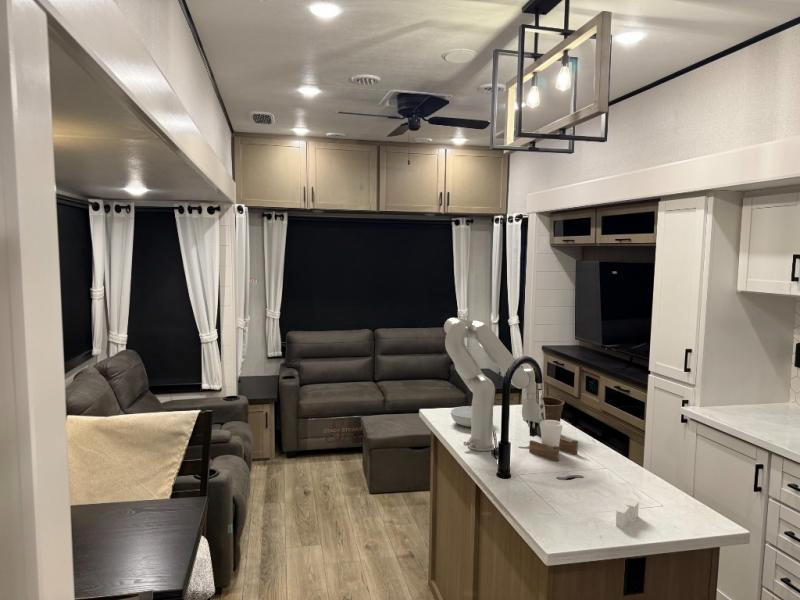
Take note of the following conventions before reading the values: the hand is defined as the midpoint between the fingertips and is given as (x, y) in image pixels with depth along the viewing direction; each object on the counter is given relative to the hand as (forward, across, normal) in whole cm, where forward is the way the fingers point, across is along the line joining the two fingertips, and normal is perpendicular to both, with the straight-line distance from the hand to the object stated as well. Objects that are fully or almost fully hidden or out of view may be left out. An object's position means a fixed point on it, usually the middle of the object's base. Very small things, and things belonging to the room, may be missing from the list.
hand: (533, 435), depth 241 cm
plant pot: (+5, +8, -20) cm, 22 cm away
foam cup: (+5, -10, +1) cm, 11 cm away
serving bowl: (+4, +40, 0) cm, 40 cm away
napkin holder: (+5, -64, +34) cm, 73 cm away
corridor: (+5, -11, +1) cm, 12 cm away
